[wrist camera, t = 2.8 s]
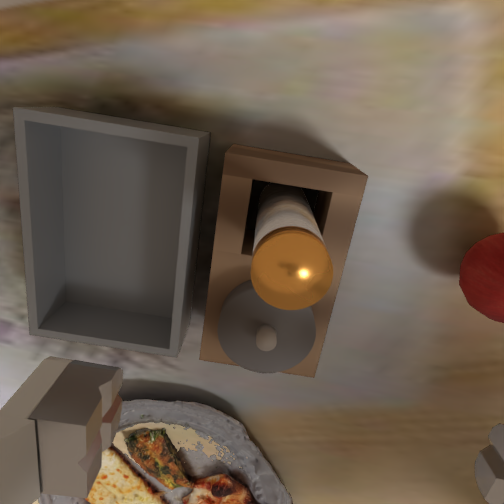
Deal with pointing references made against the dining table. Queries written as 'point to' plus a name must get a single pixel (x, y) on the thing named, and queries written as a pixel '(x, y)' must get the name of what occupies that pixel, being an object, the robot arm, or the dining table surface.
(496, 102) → the dining table surface
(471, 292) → the red round piece
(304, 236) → the pin
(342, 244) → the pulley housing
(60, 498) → the food plate
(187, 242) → the parts tray
